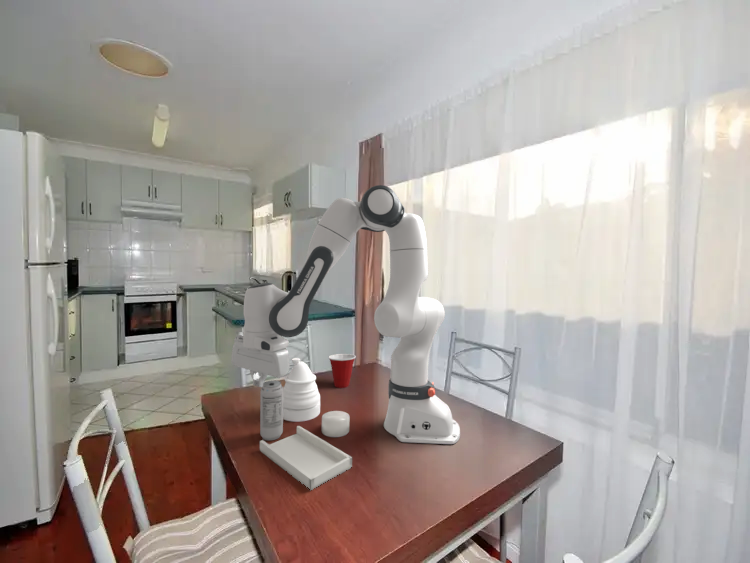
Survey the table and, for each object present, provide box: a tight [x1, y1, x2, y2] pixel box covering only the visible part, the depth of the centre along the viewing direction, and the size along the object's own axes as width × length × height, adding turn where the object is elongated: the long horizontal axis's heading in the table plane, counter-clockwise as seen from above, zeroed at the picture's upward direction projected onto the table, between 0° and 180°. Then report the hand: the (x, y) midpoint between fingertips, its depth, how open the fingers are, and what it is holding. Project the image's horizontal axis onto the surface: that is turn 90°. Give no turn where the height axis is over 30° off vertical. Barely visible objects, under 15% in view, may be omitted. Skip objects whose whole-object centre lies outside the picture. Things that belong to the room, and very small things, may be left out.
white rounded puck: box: [321, 410, 351, 438], centre depth 100 cm, size 8×8×4 cm
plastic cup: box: [328, 353, 357, 389], centre depth 136 cm, size 11×11×12 cm
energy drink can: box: [259, 379, 284, 441], centre depth 96 cm, size 6×6×15 cm
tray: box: [259, 425, 353, 491], centre depth 85 cm, size 22×12×2 cm, turn 47°
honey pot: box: [282, 357, 321, 423], centre depth 111 cm, size 13×13×18 cm
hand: (258, 385), depth 100 cm, fingers closed
